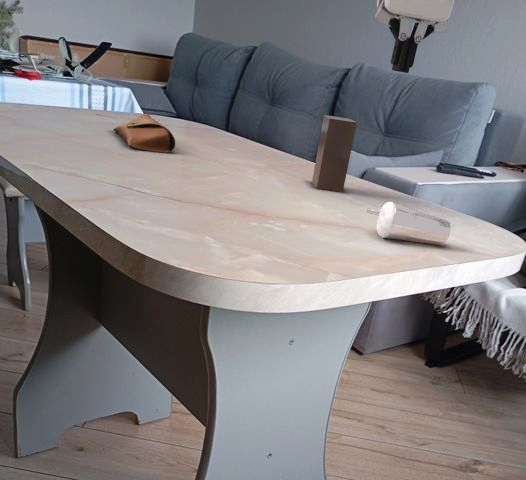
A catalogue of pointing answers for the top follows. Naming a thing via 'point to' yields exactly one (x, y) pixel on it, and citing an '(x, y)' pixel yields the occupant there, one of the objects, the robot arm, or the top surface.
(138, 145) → the sunglasses case
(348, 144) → the walnut pillar
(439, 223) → the milkshake
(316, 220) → the top surface
